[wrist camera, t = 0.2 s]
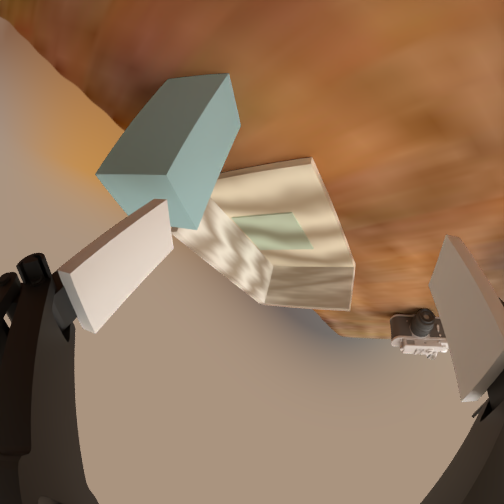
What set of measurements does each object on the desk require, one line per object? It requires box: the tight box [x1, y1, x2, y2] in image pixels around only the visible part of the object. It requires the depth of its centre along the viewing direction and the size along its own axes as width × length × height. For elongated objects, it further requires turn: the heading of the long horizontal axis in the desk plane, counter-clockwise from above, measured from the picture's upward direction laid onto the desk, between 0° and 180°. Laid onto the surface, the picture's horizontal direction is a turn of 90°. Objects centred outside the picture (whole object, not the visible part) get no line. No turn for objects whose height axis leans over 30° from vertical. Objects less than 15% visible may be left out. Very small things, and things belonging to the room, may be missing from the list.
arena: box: [171, 157, 355, 311], centre depth 38 cm, size 24×16×8 cm, turn 28°
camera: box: [390, 309, 449, 356], centre depth 55 cm, size 9×16×10 cm, turn 100°
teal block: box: [95, 73, 241, 230], centre depth 21 cm, size 6×6×12 cm
